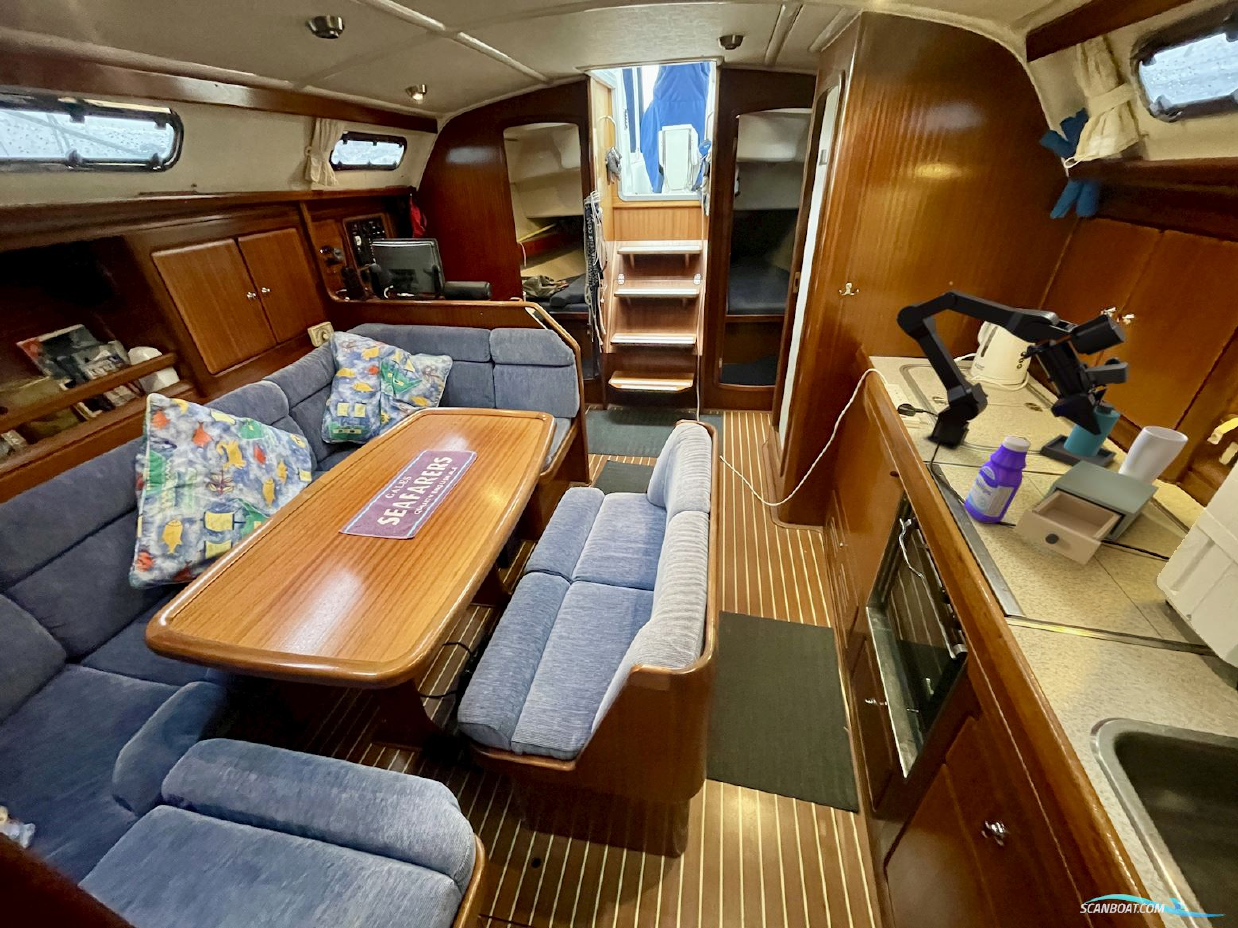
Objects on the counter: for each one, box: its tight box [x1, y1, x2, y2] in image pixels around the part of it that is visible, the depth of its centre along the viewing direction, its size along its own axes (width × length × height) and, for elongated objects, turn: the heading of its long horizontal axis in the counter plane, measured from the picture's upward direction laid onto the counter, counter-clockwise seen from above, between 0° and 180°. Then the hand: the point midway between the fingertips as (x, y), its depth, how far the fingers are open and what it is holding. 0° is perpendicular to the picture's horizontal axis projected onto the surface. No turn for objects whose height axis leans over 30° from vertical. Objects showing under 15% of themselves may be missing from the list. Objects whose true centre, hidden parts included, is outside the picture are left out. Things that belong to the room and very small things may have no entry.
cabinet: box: [1041, 460, 1160, 541], centre depth 99 cm, size 16×13×7 cm
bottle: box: [964, 435, 1032, 524], centre depth 95 cm, size 7×6×17 cm
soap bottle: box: [1064, 402, 1121, 457], centre depth 103 cm, size 6×6×11 cm
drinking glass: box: [1117, 425, 1189, 485], centre depth 103 cm, size 7×7×15 cm
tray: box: [1038, 433, 1118, 468], centre depth 119 cm, size 11×11×2 cm
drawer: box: [1012, 490, 1121, 566], centre depth 92 cm, size 16×11×5 cm
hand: (1101, 430), depth 102 cm, fingers closed on soap bottle, 5 cm apart
